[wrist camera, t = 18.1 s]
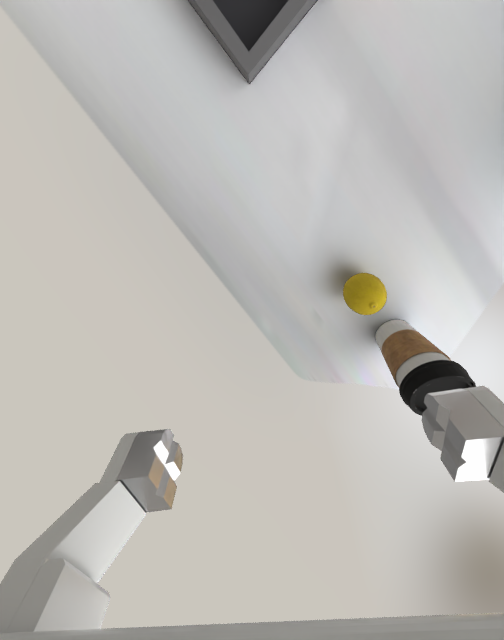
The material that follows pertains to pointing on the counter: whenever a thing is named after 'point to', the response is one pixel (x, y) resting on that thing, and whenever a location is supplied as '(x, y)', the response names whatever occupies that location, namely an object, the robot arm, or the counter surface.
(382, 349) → the coffee cup
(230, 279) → the counter surface
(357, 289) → the lemon
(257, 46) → the box
